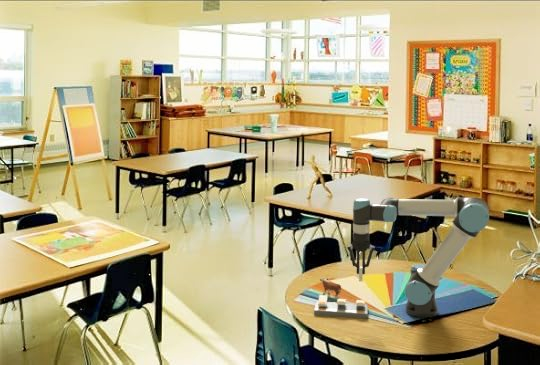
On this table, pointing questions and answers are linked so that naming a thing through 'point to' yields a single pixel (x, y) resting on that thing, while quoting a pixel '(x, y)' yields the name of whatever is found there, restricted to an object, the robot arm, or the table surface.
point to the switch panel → (342, 310)
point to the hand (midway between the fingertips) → (360, 280)
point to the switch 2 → (360, 302)
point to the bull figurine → (331, 286)
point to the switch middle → (341, 301)
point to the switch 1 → (322, 300)
